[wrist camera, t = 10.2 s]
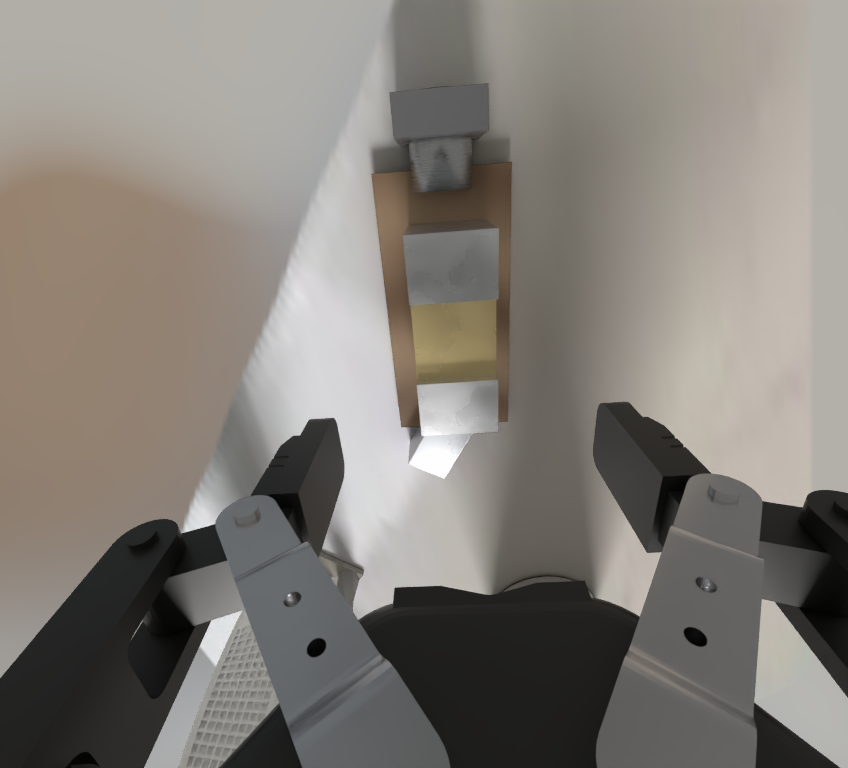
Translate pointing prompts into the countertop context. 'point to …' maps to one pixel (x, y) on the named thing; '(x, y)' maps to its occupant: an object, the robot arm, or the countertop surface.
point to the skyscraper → (244, 685)
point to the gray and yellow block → (454, 323)
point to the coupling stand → (439, 202)
